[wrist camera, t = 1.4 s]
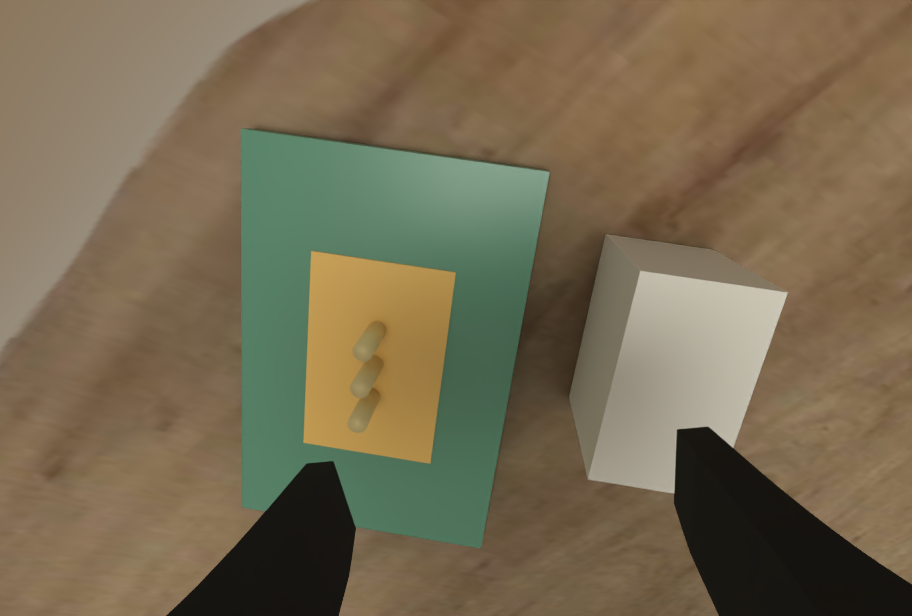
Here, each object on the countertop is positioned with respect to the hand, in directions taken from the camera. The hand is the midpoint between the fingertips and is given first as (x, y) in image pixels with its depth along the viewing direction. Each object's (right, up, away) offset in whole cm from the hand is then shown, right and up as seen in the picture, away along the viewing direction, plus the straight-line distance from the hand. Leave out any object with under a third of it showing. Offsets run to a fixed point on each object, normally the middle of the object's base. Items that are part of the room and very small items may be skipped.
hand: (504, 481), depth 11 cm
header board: (-4, +2, +13) cm, 14 cm away
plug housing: (+7, +3, +12) cm, 14 cm away
